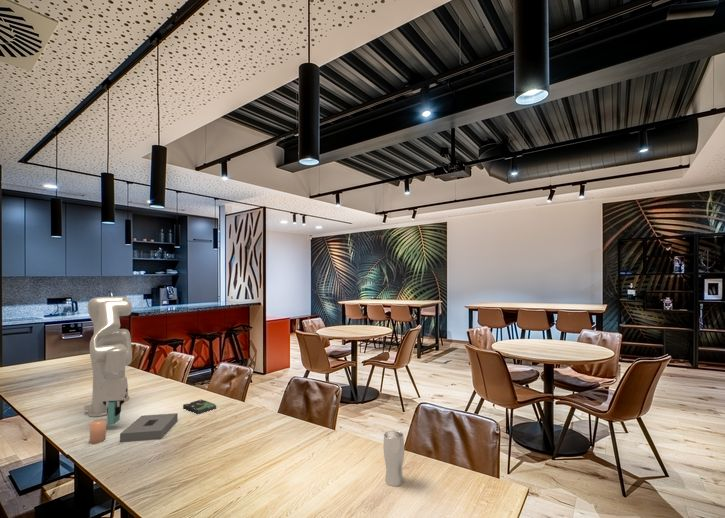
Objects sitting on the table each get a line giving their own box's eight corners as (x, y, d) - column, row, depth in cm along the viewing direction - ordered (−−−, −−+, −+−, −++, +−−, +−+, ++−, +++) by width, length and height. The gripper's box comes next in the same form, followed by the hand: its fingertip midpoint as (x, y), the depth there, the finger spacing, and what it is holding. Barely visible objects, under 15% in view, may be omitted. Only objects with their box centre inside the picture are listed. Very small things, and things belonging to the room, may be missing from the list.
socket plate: (119, 442, 148) (120, 433, 149) (141, 423, 168) (141, 415, 168) (160, 438, 151) (161, 430, 151) (177, 420, 171) (177, 413, 171)
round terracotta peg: (86, 444, 146) (87, 424, 147) (94, 438, 152) (94, 419, 152) (101, 443, 147) (101, 423, 148) (108, 437, 153) (108, 418, 153)
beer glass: (382, 475, 121) (381, 430, 121) (402, 474, 121) (401, 429, 122) (385, 487, 114) (384, 439, 115) (406, 486, 114) (406, 438, 115)
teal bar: (107, 424, 160) (108, 402, 161) (113, 419, 166) (114, 398, 166) (113, 424, 161) (114, 402, 161) (119, 419, 166) (120, 398, 167)
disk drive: (182, 410, 186) (198, 415, 178) (182, 404, 186) (198, 409, 178) (200, 404, 195) (216, 409, 186) (200, 399, 195) (216, 403, 187)
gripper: (91, 377, 159) (89, 419, 158) (130, 376, 162) (128, 417, 161) (100, 373, 166) (99, 412, 166) (137, 371, 169) (136, 410, 168)
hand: (113, 414), depth 163 cm, fingers closed on teal bar, 2 cm apart
